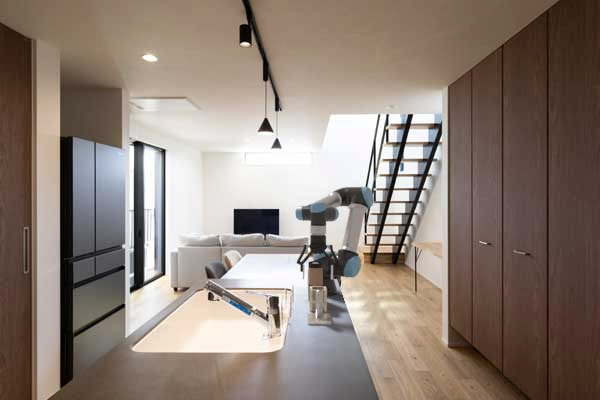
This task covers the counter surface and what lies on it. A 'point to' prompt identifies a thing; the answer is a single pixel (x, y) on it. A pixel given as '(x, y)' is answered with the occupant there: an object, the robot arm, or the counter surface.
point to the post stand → (319, 312)
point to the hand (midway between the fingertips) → (317, 279)
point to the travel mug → (315, 274)
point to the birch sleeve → (313, 298)
